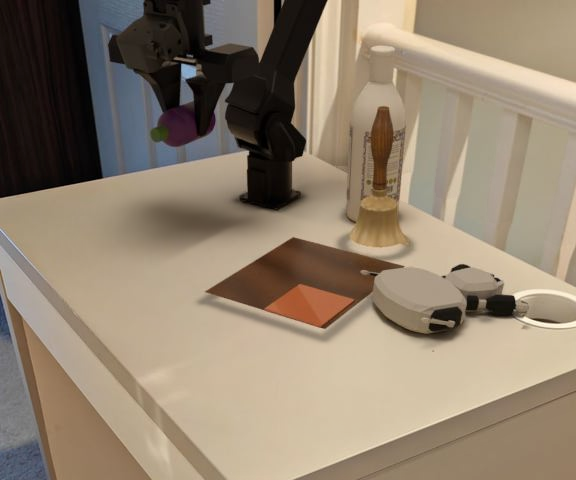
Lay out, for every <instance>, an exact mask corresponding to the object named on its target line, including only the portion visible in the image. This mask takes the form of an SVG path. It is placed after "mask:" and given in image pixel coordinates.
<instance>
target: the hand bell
mask: <svg viewBox="0 0 576 480" xmlns="http://www.w3.org/2000/svg"><path fill="white" fill-rule="evenodd" d="M392 144H393V125H392V121H391V117H390V112H389V107H386V106H380V107H378V110H377V114H376V117H375V120H374V123H373V126H372V130H371V152H372V156H373V161H374V174H373V184H372V187H373V191H372V195H371V196H369V197H366V198H364V199H363V200H362V201H361V204H360V209H359V215H358V218H357V221H356V222H355V224H354V226H353V227H352V230H351V231H350V232H349V235H348V236H349V239H350V240H351V241H352V242H354V243H355V244H358V245H361V246H364V247H371V248H389V247H394V246H397V245H400V244H401V245H403V246H404V245H405V246H408V247H410V241H409V239H408V236H407V235H406V234H404V232H403V230H402V229H401V226H400V221H399V213H398V214H397V202H396V201H395V200H394V199H393V198H391V197H389V196H387V188H386V187H387V183H386V181H387V164H388V159H389V157H390V154H391V150H392Z"/></svg>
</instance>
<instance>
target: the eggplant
mask: <svg viewBox="0 0 576 480" xmlns="http://www.w3.org/2000/svg"><path fill="white" fill-rule="evenodd" d="M216 119H217V117H216V113H215V112H214V113H213V116H212V119H211V121H210V124H209V127H208V130H207V132H206V135H205V136H202V137H199V136H198V134H197V128H196V121H195V109H194V100H192V101H190V102H187V103H183V104H180V106H178V107H175V108H172V109H169V110H167V111H165V112H164V113H163V112H162V114H160V116H159V118H158V120H157V122H156V123H157V124H156V127H153V128H151V130H150V132H149V135H150V138H151V140H152V141H153V142H154V143H160V142H163V143H164V144H165V145H167V146H168V147H172V148H179V147H183V146H186V145H187V144H190V143H193V142H196V141H198V140H200V139H202V138H205V137H208V136H209V135H210V134H211V133H212V132H213V130H214V129H215V126H216V122H217V120H216Z"/></svg>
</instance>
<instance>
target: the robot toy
mask: <svg viewBox="0 0 576 480" xmlns="http://www.w3.org/2000/svg"><path fill="white" fill-rule="evenodd" d="M360 272H361V273H362V274H363V275H373V276H376V277H375V280H374V287H373V292H372V293H371V294H372V295H371V299H372V301H373V303H374V305H375V306H376V307H377V308H378V310H379V311H380V312H381V313H382V314H383V315H384V316H385V318H387V319H389V320H390V321H392V322H394V323H395V324H397V325H399V327H403V328H405V329H407V330H409V331H412V332H415V333H420V334H424V335H427V334H432V333H433V334H434V333H438V332H439V333H440V332H445V331H450V330H455V329H456V328H458V327H459V326H460V325H461V324H462V323H463V322H464V319H465V315H466V314H465V313H476V312H483V311H489V312H491V313H493V314H494V315H497V316H501V315H502V316H513V314H514V311H516V312H519V313H527V312H528V311H529V309H530V304H529V303H528V301H526V299H525V300H523V299H520V298H518V299H516V297H515V295H513V294H503V290H504V286H505V282H504V280H503V279H500V278H499V277H496V276H495V273H491V272H489V271H485V270H483V269H481V268H476V267H473V266H472V267H471V266H470V265H468V264H465V263H459V264H457V265H455V266H453V267H451V269H450V271H449V273H448V274H446V275H439V274H437V273H435V272H432V271H430V270H427V269H424V268H420V267H415V266H406V267H404V268H398V269H391V270H383V271H382V272H381V273H374V272H368V271H366V270H362V271H360Z"/></svg>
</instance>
